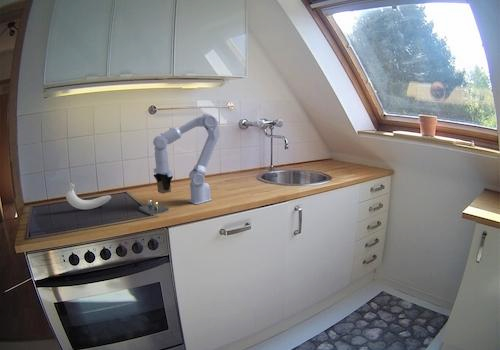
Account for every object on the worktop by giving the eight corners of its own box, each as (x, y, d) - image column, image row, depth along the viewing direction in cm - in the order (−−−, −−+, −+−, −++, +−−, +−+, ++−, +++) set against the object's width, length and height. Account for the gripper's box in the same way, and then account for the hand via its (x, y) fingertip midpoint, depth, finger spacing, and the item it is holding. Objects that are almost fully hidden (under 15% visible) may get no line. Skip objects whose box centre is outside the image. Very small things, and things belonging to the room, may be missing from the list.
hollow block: (166, 190, 161) (165, 180, 160) (171, 191, 157) (170, 181, 156) (157, 191, 158) (156, 182, 156) (162, 193, 154) (161, 183, 153)
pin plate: (156, 205, 160) (155, 196, 159) (168, 210, 152) (167, 201, 151) (138, 209, 154) (137, 200, 153) (150, 215, 146) (149, 206, 145)
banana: (112, 206, 160) (109, 177, 157) (69, 214, 151) (64, 184, 147) (110, 203, 164) (107, 175, 161) (68, 211, 155) (63, 181, 151)
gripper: (146, 160, 157) (149, 188, 160) (161, 164, 146) (164, 193, 149) (160, 158, 161) (162, 185, 164) (175, 162, 151) (177, 190, 154)
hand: (164, 189), depth 157 cm, fingers closed on hollow block, 5 cm apart
